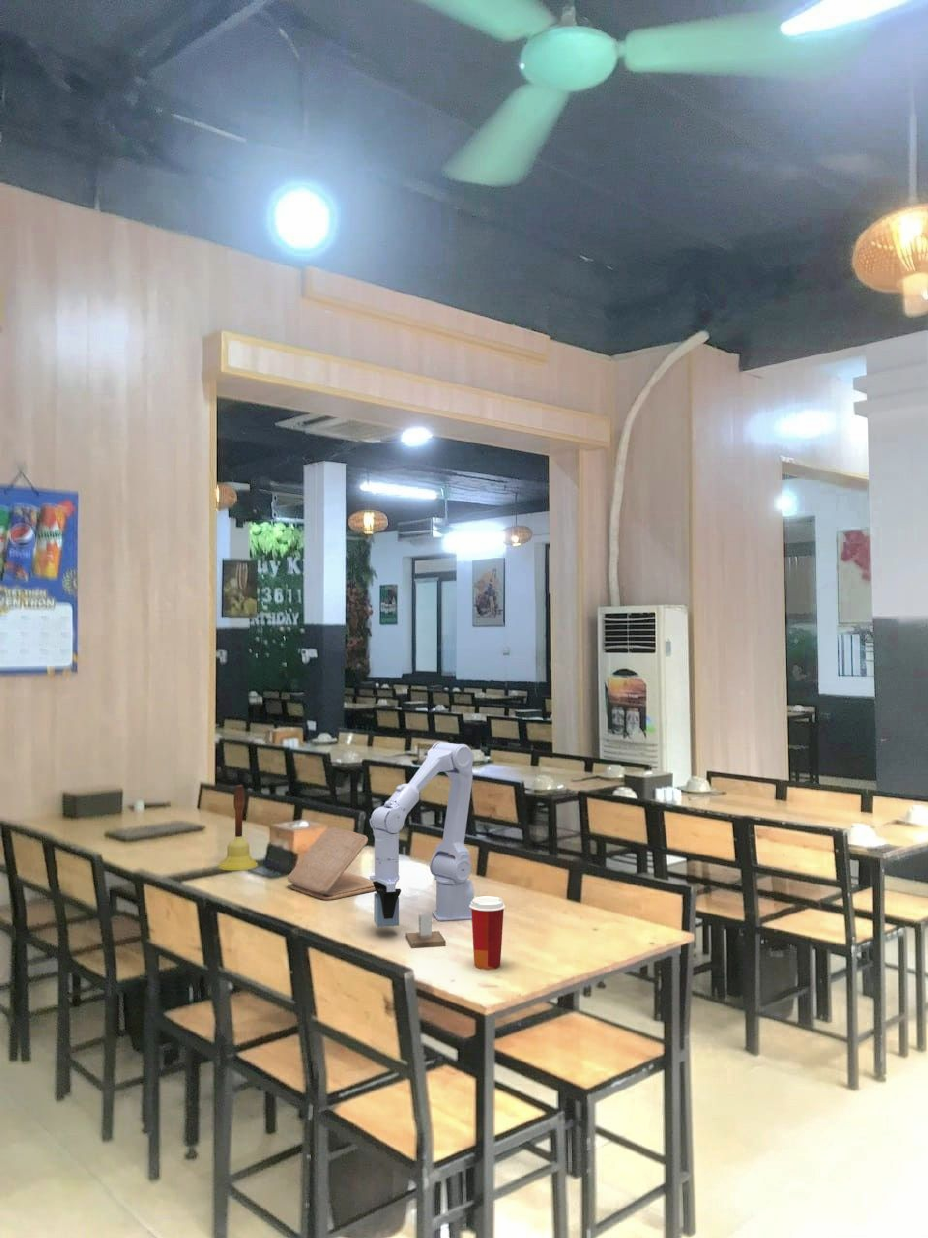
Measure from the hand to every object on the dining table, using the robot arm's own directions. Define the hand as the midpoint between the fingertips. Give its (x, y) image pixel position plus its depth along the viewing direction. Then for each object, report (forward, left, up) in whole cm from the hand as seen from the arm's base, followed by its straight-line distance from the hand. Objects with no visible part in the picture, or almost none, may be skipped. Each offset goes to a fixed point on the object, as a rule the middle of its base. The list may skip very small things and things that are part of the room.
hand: (386, 914), depth 230 cm
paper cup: (-18, +27, -5) cm, 33 cm away
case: (+8, -45, -5) cm, 46 cm away
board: (-8, +8, -5) cm, 12 cm away
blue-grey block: (0, 0, -2) cm, 2 cm away
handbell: (+35, -79, -5) cm, 87 cm away
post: (-8, +8, -3) cm, 12 cm away
